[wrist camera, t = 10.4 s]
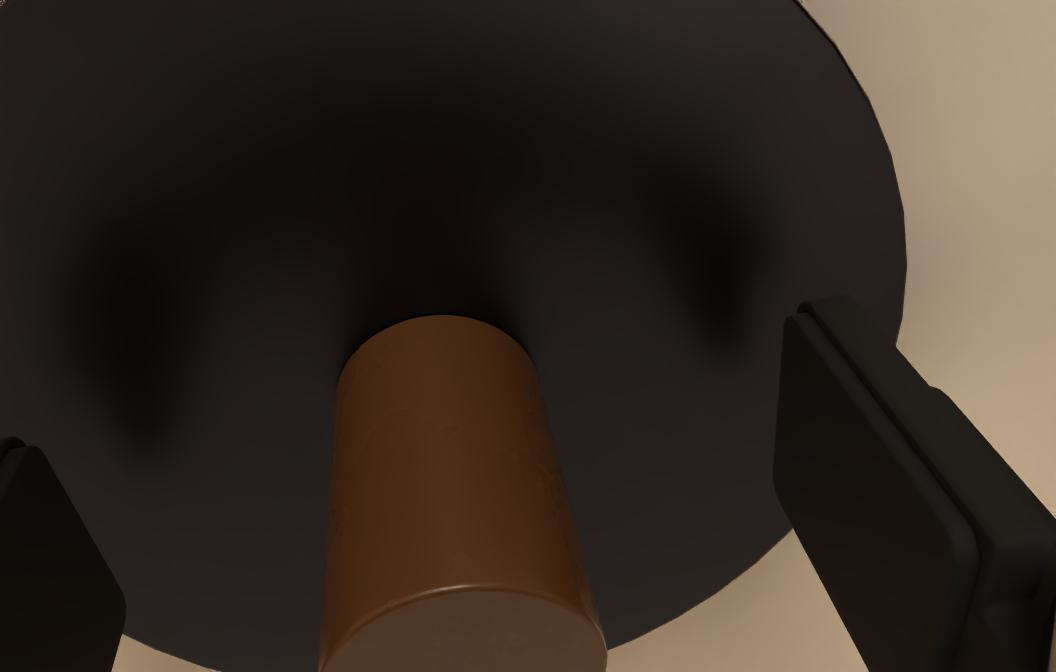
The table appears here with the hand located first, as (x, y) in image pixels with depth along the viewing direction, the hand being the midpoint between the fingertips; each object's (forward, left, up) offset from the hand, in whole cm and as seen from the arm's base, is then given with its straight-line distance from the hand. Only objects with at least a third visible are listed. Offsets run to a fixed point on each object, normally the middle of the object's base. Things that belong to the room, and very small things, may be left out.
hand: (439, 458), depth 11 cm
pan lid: (0, 0, -2) cm, 2 cm away
